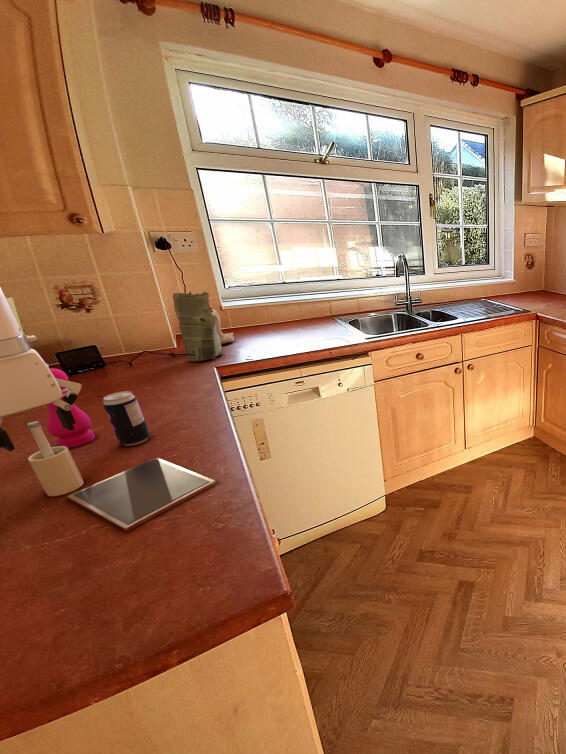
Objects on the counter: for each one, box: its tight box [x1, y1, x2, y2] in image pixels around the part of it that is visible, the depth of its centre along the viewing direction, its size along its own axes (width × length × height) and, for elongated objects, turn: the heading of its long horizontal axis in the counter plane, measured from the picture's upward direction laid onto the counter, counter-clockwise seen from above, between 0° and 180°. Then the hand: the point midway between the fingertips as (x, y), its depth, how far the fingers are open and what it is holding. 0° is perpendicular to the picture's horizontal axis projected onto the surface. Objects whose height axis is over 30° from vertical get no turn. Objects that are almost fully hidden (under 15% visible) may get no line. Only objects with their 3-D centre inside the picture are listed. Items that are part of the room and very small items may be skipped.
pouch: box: [172, 291, 224, 363], centre depth 154 cm, size 11×12×25 cm
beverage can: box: [102, 390, 151, 447], centre depth 98 cm, size 6×6×12 cm
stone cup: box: [211, 308, 235, 345], centre depth 172 cm, size 15×12×15 cm
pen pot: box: [27, 445, 85, 497], centre depth 82 cm, size 5×5×8 cm
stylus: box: [27, 420, 54, 458], centre depth 81 cm, size 1×1×14 cm
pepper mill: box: [46, 363, 96, 449], centre depth 97 cm, size 7×7×20 cm
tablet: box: [66, 456, 217, 533], centre depth 82 cm, size 15×21×1 cm
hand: (40, 438), depth 79 cm, fingers open, 7 cm apart
